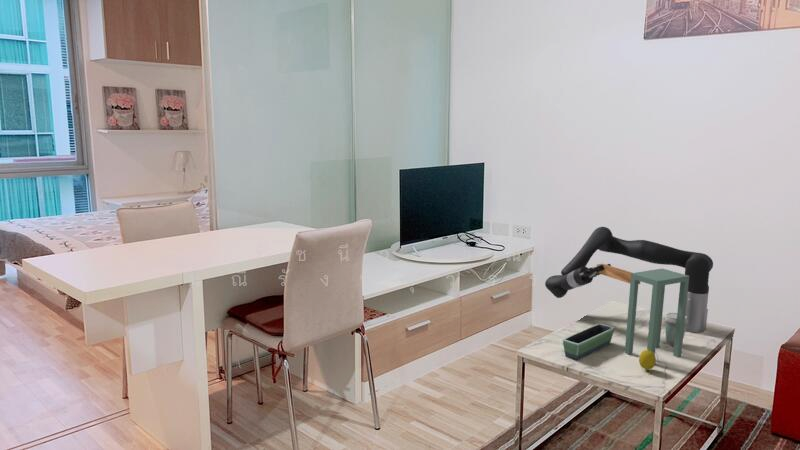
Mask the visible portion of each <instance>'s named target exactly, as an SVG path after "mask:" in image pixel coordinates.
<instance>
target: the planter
mask: <svg viewBox="0 0 800 450" xmlns="http://www.w3.org/2000/svg"><path fill="white" fill-rule="evenodd" d="M614 331H615V327H614V326H610V325H607V324H603V323H596V324H595V325H592V326H590V327H587V328H585V329H583V330H581V331H578V332H576V333H574V334H572V335H569V336H567V337H565V338H562V345H563V350H564V356H565V357H566V358H568V357H569V358H568V359H571V358H572V359H571V360H574V361H579V360H582V359H583V358H585V357H587V356H589V355H591V354H593V353H596V352H598V351H600V350H601V349H603V348H605V347H607V346H609V345H610V344H611V341H612V339H613V335H614Z"/></svg>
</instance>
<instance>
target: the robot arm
mask: <svg viewBox="0 0 800 450" xmlns="http://www.w3.org/2000/svg"><path fill="white" fill-rule="evenodd" d="M597 250H599V251H600V252H605V253H611V254H617V255H622V256H626V257H629V258H632V259H635V260H636V259H637V260H639V261H642V262H643V261H644V262H646V263H650V264H655V265H665V266H667V265H668V266H670V265H671V266H677V267H681V268H683V269H684V275H688V276H689V284H688V294H687V304H686V314H685V316H686V317H687V320H688V323H687V325H686V329H685V332H689V333H695V334H696V333H699V334H700V333H704V332H705V331H706V330H707V321H708V313H709V309H708V301H709V292H710V291H709V290H710V286H709V277H710V272H711V270H712V269H713V268H714V262H713V259H712V257H710V255H708V254H706V253H703V252H696V251H688V250H683V249H679V248H675V247H672V246H669V245H665V244H662V243H658V242H654V241H651V240H650V241H649V240H646V239H634V240H628V239H627V240H626V239H622V238H618V237H616V236H614V235H613V233H612V231H611V229H610V228H608V227H606V226H599V227H597V228H596V229H594V230H593V231H592V233H591V234H590V236H589V237H588V239H587V240H586V241H585V243H584V244H583V246H582V247H581V248H580V250H579V251H578V252H577V253H576V254H575V256H574V257H573V258H572V259H571V260H570V261H569V262H568V263H567V264H566V265H565V266H564V267H563V268H562V269H561V272H560V274H556V275H551V276H550V277H548V278H547V279H546V281H545V282H544V283H545V284H544V285H545V288H546V289H547V290H548V291H549V292H550V293H551V294H553V296H555V298H557V299H561V298H563V297H565V296H566V295H567V293H568V292H569V291H571V290H573V289H576V288H579V287H583V286H585V285H589V284H591V283H592V281H593V279H594V278H596V277H598V276H601V275H602V274H599V273H598V272H600V271H602V270H604V266H603V265H600V266H597V265H596V266H597V267H596V266H594V267H593V266H592V267H587V264H588V263H589V261H590V260H591V258H592V257H593V255H594V254H595V253H596V252H597ZM606 265H609V266H612V265H611V263H607V264H606Z"/></svg>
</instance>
